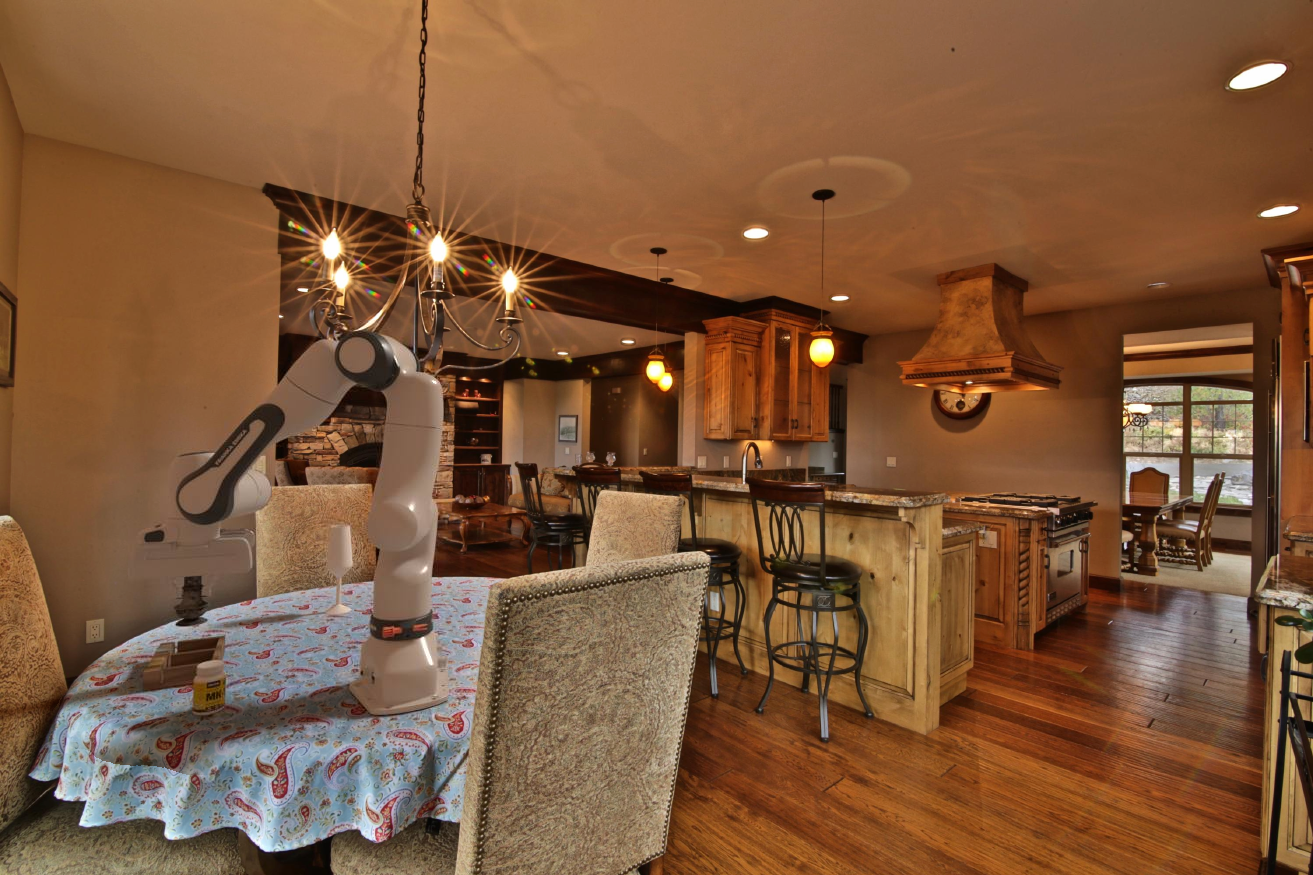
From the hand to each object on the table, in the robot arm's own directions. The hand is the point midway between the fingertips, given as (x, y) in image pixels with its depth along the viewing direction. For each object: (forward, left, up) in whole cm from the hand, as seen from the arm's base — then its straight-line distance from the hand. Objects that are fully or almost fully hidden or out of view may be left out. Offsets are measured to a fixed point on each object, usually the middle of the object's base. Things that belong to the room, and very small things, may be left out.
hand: (192, 597), depth 123 cm
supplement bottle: (-20, -5, -16) cm, 26 cm away
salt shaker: (0, 0, -5) cm, 5 cm away
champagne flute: (+36, -29, -16) cm, 49 cm away
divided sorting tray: (+4, +1, -16) cm, 17 cm away
